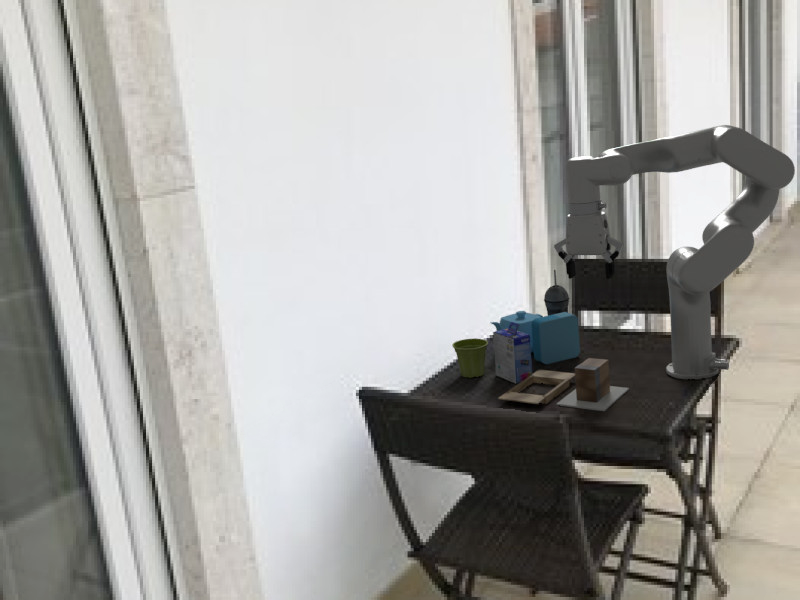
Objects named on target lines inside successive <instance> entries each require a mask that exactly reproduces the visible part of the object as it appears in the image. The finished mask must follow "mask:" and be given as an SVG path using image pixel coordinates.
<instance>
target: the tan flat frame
mask: <svg viewBox="0 0 800 600" xmlns="http://www.w3.org/2000/svg"><path fill="white" fill-rule="evenodd" d="M574 378H575V372H574V373H573V372H564V371H555V370H544V369H537V370H536V371H535V372H532V375H530V376H529V377H528V378H526V379H525V380H523V381H522V382H520V383H517V384H516V385H515V386H513V387H512V388H510V389H509V390H508V391H506V392H505V393H503V394H502V395H500V396H499V397H498V398H497V399H498V400H500V401H501V400H503V401H510V402H511V401H512V402H517V403H526V404H533V405H540V404H539V403H542V404H541V405H543V404H544V405H545V404H546V405H547V404H549V402H551V401H552V400H554V399H555V398H556V397H557V396H559V395H560V394H561V393H563V392H564V391H566V390H567V389H568V388H569V387H570V386H571V385H570V380H572V379H574ZM541 383H543V385H550V386H551V385H552V386H555V387H553V388H552V389H551V390H549V391H548V392H547V393H545V394H544V395H540V394H531V393H525V392H522V391H521V390H523V389H524V388H525V389H527V388H528V387H530V386H531V385H532V384H541ZM529 385H530V386H529ZM527 386H528V387H527ZM526 387H527V388H526ZM525 389H524V390H525ZM524 390H523V391H524ZM519 391H521V392H520V393H518V392H519ZM554 397H555V398H554Z"/></svg>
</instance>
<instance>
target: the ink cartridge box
mask: <svg viewBox="0 0 800 600" xmlns="http://www.w3.org/2000/svg"><path fill="white" fill-rule="evenodd" d="M513 325H514V326H515V327H516V329H513V328H511V326H513ZM518 327H519V324H517V323H514V322H511V324H510V326H509V328H508V329H503V330H499V331H497V330H495V331H493V332H492V333H493V348H494V350H493V351H494V363H495V376H497V377H500V378H502V379H504V380H506V381H509V382H511V383H514V384H516V385H518V384H519V383H520V382H522V381H523V380H525V379H526V378H528V377H529V376H530V375H532V374H533V368H532V367H533V366H532V353H531V347H530V335H529V334H526V333H522V332H519V331H517V330H518Z"/></svg>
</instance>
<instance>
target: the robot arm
mask: <svg viewBox="0 0 800 600" xmlns="http://www.w3.org/2000/svg"><path fill="white" fill-rule="evenodd" d="M719 163H720V164H721V163H724V164H726V165H727V166H729V167H731V168H732V169H734V170H736V171H737V172H739V173H740V174H742V175H744V177H745V179H744V185H743V188H742V190H741V192H740V193H739V194H738V196H737V197H736V198H734V200H733V201H732V202H731V203H730V204H729V205H728V206H727V207H726V208H725V209H723V210H722V211H721V212H720V213H719V214H718V215H717V216H715V218H714V219H712V220H711V221H710V222H709V223H708V224H707V225H706V226H705V228H704V229H703V231H702V235H701V237H702V242H703V245H702V246H701V247H700V248H699V249H698V248H696V247H693V246H682V247H679V248H677V249H675V250H674V251H672V253H671V254H670V256H669V257H668V259H667V262H666V268H665V269H666V278H667V286H668V294H669V295H668V296H669V311H670V312H669V313H670V335H671V336H670V338H671V339H670V341H671V343H670V344H671V361H672V362H671V363H669V364H668V365H666V366H665V370H666V371H665V372H666V374H668V376H671V377H673V378H675V379H680V380H688V379H690V380H691V379H695V380H703V379H702V378H705V379H709V378H713V377H714V376H716V375H718V374H719V372H720V370H726V371H727V370H729V369H730V362H729V361H728V359H726V358H718V357H716V356H717V355H716V352H713V351H712V321H711V320H712V319H711V312H712V311H711V295H710V292H712V291H713V290H714V289H715V288H717V287H718V286H719V285H720V284H721V283H722V282H723V281H724V280H726V279H727V278H728V277H729V276H730V275H731V274H732V273H733V272H735V271H736V270H737V269H738V268H739V267H740V266H741V265H742V264H743V263H744V262H745V261H746V260H747V259H748V258H749V256H750V255H751V253H752V251H753V250H754V249H753V248H754V246H755V237H754V234H753V233H754V232H755V231H756V230H757V229H758V228H759V227H760V226H761V225H762V224H763V223H764V222H765V221H766V220H767V219H768V218H769V217H770V215H772V213H773V212H774V209H775V208H776V205H777V204H778V200H779V197H780V190H781V189H783V188H785V187H787V186H788V185H790V184H791V182H792V181H793V179H794V178H795V172H796V170H795V169H796V167H795V164H794V162H793V160H792V159H791V158H790V157H789V156H788V155H787V154H785V153H784V152H782V151H780V150H778V149H777V148H776V147H773V146H772V145H770V144H768V143H766V142H765V141H763V140H761V139H759V138H758V137H757V136H755V135H754V134H751V133H750V132H748V131H746V130H745V129H743V128H740V127H738V126H733V125H729V124H723V125H718V126H712V127H708V128H702V129H700V130H699V129H698V130H696V131H690V132H686V133H682V134H678V135H673V136H667V137H661V138H657V139H653V140H649V141H642V142H637V143H632V144H628V145H622V146H619V147H615V148H609V149H606V150H604V151H603V152H601V153H600V154H598V156H597V157H594V156H591V155H590V156H589V155H585V156H582V155H581V156H576V157H572V158H569V159H567V160H566V162H565V173H566V174H565V177H566V184H567V185H566V186H567V196H568V197H567V199H568V209H569V210H568V211H569V214H568V215H567V218H566V226H565V227H566V228H565V238H564V239H562V240H560V241H559V242H557V243H555V244H554V245H553V248H554V249H555V251H556V253H557V255H558V257H560V258H561V260H563V262H564V263H565V267H566V268H565V269H566V275H567V277H568V279H569V280H572V279H573V278H574V277H576V275H577V271H576V263H575V262H576V261H575V260H573V259H574V257H575V256H579V257H580V256H593V257H594V256H601V257H602V258H603V259H604V260H605V261H606V262H605V264H604V266H605V269H604V270H605V278H606V279H607V280H610V279H611V278H613V277H614V275H615V272H616V271H615V260H616V259H617V258H618V257H619V256H620V255H621V252H622V250H623V247H624V243H623V242H621V241H619V240H618V239H615V238H613V237H611V233H610V227H609V222H608V218H607V215H606V214H607V213H606V212H604V211H603V210H604V209H605V210H606V209H607V208H608V207H607V206H608V205H607V202H602V199H601V191H600V186H606V187H607V186H611V187H612V186H614V187H616V186H620V185H624V184H627V182H629V180H630V179H631V178H632V176H634V175H639V174H640V175H641V174H644V173H667V174H669V173H671V174H672V173H679V172H685V171H689V170H692V169H693V170H694V169H697V168H701V167H706V166H711V165H715V164H719ZM564 245H566V251H565V250H564V249H563V247H564ZM612 247H614V251H613V252H612V251H611V250H612Z"/></svg>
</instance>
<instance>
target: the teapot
mask: <svg viewBox="0 0 800 600" xmlns="http://www.w3.org/2000/svg"><path fill="white" fill-rule="evenodd" d="M540 317H544V316H543V315H542V314H539V313H535V314H534V313H531V312H526V311H525V310H518V311H516V312H515V313H512V314H508V315H505V316H501V318H500V320H499V322H498V321H491V322H490V324H491V325H493V326H495V330H496V331H499V330H503V329H508V328H509V326H510V324H511V322H514V323H517V324H519V327H518V330H517V331H519V332H522V333H526V334H529V335H530V347H531V354H534V352H533V339H532V326H531V324H532V321H533V320H534V319H536V318H540ZM511 328H513V329H516V327H515V326H514V325H513V326H511Z"/></svg>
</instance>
